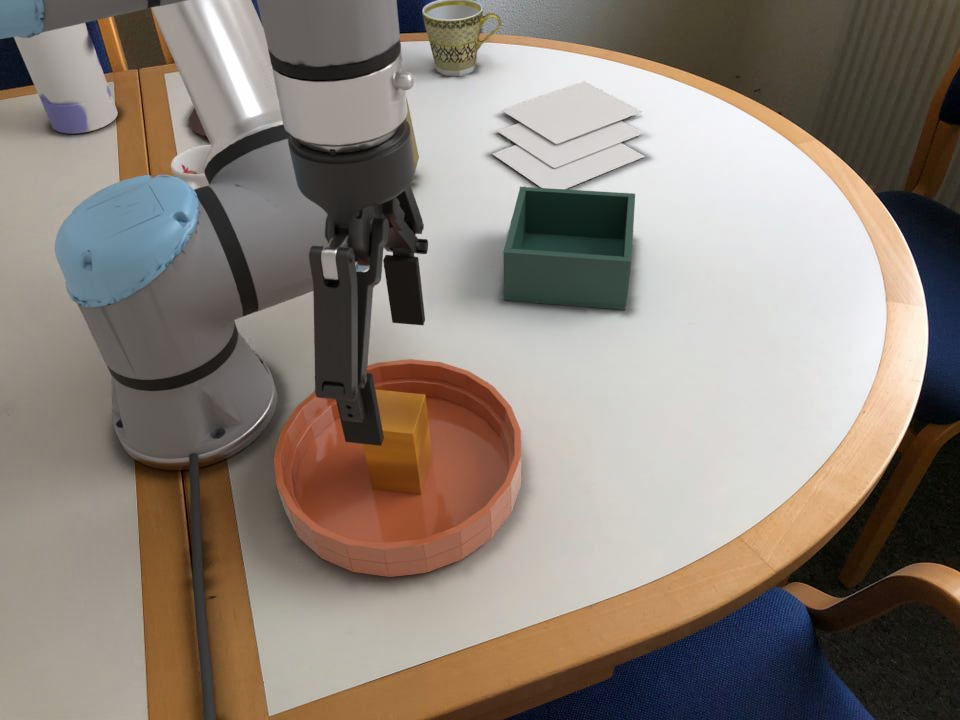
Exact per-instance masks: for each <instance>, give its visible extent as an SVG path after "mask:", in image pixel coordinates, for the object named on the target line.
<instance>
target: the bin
mask: <svg viewBox="0 0 960 720" xmlns="http://www.w3.org/2000/svg"><path fill="white" fill-rule="evenodd" d="M635 205H636V193H632V192H615V191H613V192H612V191H597V190H583V189H582V190H581V189H580V190H579V189H550V188H541V187H534V186H533V187H532V186H531V187H530V186H520V187H519V190H518V194H517V197H516V201H515V205H514V209H513V213H512V217H511V221H510V224H509V228H508V232H507V236H506V240H505V244H504V248H503V251H502V261H503V262H502V266H503V267H502V270H503V301H509V302H511V301H512V302H521V303H523V302H524V303H537V304H548V305H558V306H571V307H581V308H582V307H583V308H595V309H596V308H597V309H609V310H621V311H626V310H627V303H628V295H629V285H630V277H631V269H632V257H633V242H634V241H633V240H634V223H635V208H636V206H635Z"/></svg>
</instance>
